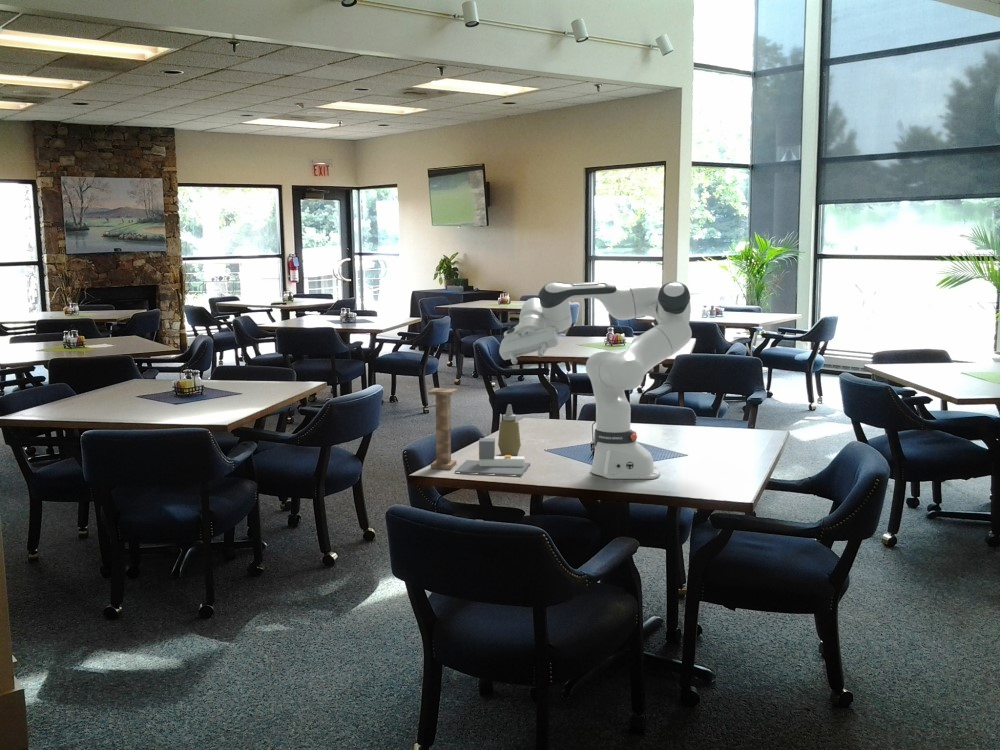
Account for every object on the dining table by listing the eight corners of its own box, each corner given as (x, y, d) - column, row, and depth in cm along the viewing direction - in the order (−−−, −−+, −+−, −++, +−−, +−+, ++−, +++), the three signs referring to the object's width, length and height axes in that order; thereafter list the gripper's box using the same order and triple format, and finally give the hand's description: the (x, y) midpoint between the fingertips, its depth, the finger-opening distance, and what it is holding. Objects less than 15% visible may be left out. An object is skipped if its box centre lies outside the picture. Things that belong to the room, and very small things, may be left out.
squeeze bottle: (501, 458, 325) (501, 407, 322) (495, 453, 333) (495, 403, 330) (523, 456, 327) (523, 406, 325) (517, 451, 335) (517, 402, 332)
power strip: (524, 463, 314) (524, 438, 312) (524, 466, 309) (524, 441, 307) (480, 462, 314) (480, 438, 313) (479, 466, 309) (479, 441, 308)
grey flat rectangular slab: (530, 465, 314) (530, 462, 314) (521, 476, 299) (521, 474, 299) (466, 462, 319) (466, 459, 319) (454, 473, 303) (454, 470, 303)
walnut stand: (458, 464, 315) (457, 388, 312) (452, 470, 308) (451, 392, 304) (435, 463, 317) (434, 387, 313) (428, 468, 309) (427, 391, 306)
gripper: (562, 332, 314) (560, 357, 304) (506, 347, 321) (502, 373, 310) (555, 317, 310) (553, 343, 300) (499, 333, 317) (495, 359, 307)
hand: (527, 358), depth 305 cm, fingers open, 8 cm apart
